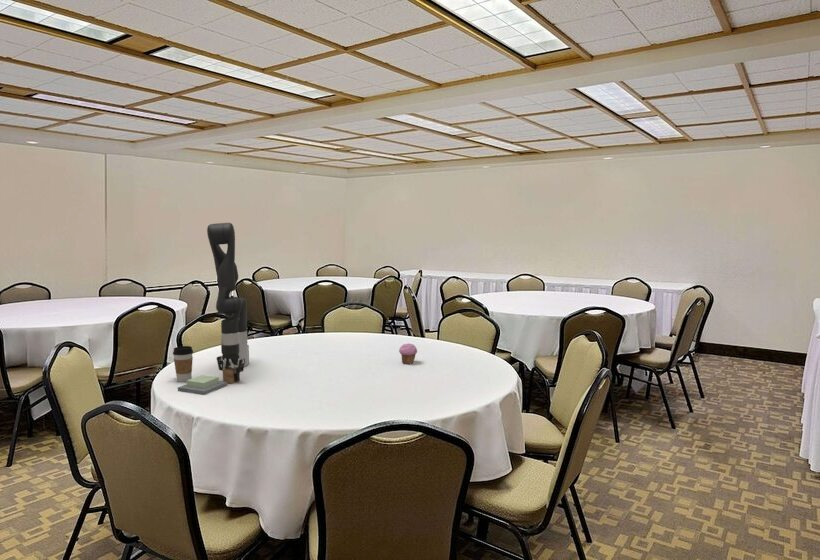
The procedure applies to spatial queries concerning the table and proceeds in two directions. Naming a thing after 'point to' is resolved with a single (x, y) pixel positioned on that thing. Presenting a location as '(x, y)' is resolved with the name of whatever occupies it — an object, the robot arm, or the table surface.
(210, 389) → the stack base
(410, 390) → the table surface
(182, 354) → the coffee cup
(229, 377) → the walnut block
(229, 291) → the robot arm
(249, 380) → the table surface
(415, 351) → the cupcake
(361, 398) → the table surface
